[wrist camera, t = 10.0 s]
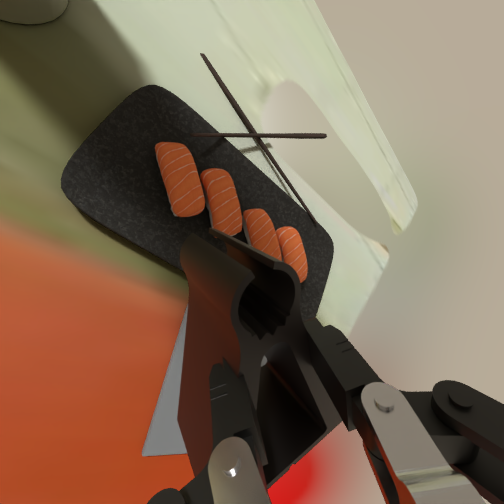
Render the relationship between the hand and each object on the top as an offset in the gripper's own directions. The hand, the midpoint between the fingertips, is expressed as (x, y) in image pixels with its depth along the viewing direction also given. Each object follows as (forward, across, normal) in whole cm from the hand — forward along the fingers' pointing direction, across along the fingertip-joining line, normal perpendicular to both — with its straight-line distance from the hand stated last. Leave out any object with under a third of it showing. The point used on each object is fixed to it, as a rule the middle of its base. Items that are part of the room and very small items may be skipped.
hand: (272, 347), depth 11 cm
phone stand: (+1, +2, +7) cm, 8 cm away
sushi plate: (+22, -6, -4) cm, 23 cm away
